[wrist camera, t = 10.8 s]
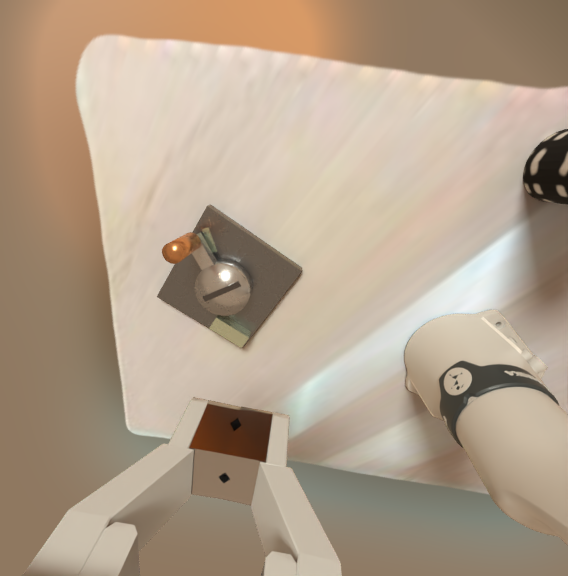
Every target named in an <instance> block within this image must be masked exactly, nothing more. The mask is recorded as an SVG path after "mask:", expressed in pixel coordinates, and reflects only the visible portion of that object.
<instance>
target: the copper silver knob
mask: <svg viewBox="0 0 568 576" xmlns="http://www.w3.org/2000/svg"><path fill="white" fill-rule="evenodd" d="M191 253H192V255H193V256H194V258H195V260H196V261H197V263H198V265H199V266H200V268H201V269H202V271H201V272H200V273H199V275H198V276H197V278H196V281H195V285H194V289H195V294H196V297H197V299H198V301H199V302H200V304H201V305H202V306H203V307H204V308H205V309H206V310H208V311H209V312H211V313H213V314H216V315H221V316H230V315H234V314H236V313H238V312H240V311H241V310H242V309H243V308H244V307H245V306H246V304H247V302H248V300H249V298H250V295H251V293H252V280H251V277H250V275H249V273H248V272H247V271H246V269H245V268H244V267H243V266H241V265H240V264H238V263H236V262H234V261H231V260H224V259H222V260H216V258H215V256H214V255H213V253H212V251H211V249H210V248H209V246H208V244H207V243H206V241H205V239H204V237H203V236H202V234H201V232H200V233H198V234H195V233H191V232H190V233H187V234H185V235H183V236H181V237H179V238H177V239H176V240H174V241H172V242H170V243H168V244H166V245H165V246H164V247H163V249H162V254H163V257H164V258H165V260H166V261H168V262H169V263H173V264H176V263H179V262H180V261H182V260H183V259H184V258H186V257H187V256H188V255H190V254H191Z"/></svg>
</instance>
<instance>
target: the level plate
mask: <svg viewBox="0 0 568 576" xmlns="http://www.w3.org/2000/svg"><path fill="white" fill-rule="evenodd" d="M200 232H201V234H202V236H203V237H204V239H205V241H206V243H207V244H208V246H209V248H210V249H211V251H212V253H213V255H214V256H215V258H216V260H222V259H224V260H231V261H234V262H236V263H238V264H240V265H241V266H243V267H244V268H245V269H246V271H247V272H248V273H249V275H250V277H251V280H252V293H251V295H250V298H249V300H248V302H247V304H246V306H245V307H244V308H243V309H242V310H241V311H240V312H238V313H236V314H234V315H230V316H221V315H216V314H213V313H211V312H209V311H208V310H206V309H205V308H204V307H203V306H202V305H201V304H200V302H199V301H198V299H197V297H196V294H195V289H194V285H195V281H196V278H197V276H198V275H199V273H200V272H201V271H202V269H201V268H200V266H199V265H198V263H197V261H196V260H195V258H194V256H193V255H192V253H191V254H190V255H188V256H187V257H186V258H184V259H183V260H182V261H180V262H179V263H176V264H175V265H174V267H173V269H172V270H171V272H170V274H169V276H168V278H167V279H166V281H165V283H164V285H163V287H162V288H161V290H160V292H159V294H158V296H157V297H158V298H160V299H161V300H163V301H165V302H166V303H168V304H170V305H171V306H173V307H175V308H176V309H178V310H180V311H181V312H183V313H184V314H186V315H188V316H189V317H191V318H193V319H194V320H196V321H198V322H199V323H201V324H203V325H204V326H206V327H208V328H209V329H211V330H212V331H214V332H216V333H217V334H219V335H221V336H222V337H224V338H225V339H227V340H229V341H230V342H232V343H234V344H235V345H237V346H239V347H240V348H243V347H244V346H245V344H246V343H247V342H248V340H249V339H250V338H251V337H252V335H253V334H254V333H255V331H256V330H257V329H258V327H259V326H260V325H261V324H262V322H263V321H264V320H265V318H266V317H267V316H268V315H269V313H270V312H271V311H272V309H273V308H274V307H275V306H276V304H277V303H278V302H279V300H280V299H281V298H282V296H283V295H284V294H285V293H286V291H287V290H288V289H289V287H290V286H291V285H292V284H293V282H294V281H295V280H296V278H297V277H298V276H299V274H300V273H301V272H302V267H300V266H299V265H297V264H296V263H294V262H293V261H291V260H290V259H289V258H287V257H286V256H284V255H283V254H281V253H280V252H278V251H277V250H276V249H274V248H273V247H271V246H270V245H268V244H267V243H265V242H264V241H263V240H261V239H260V238H258V237H257V236H255V235H254V234H252V233H251V232H250V231H248V230H247V229H245V228H244V227H242V226H241V225H239V224H238V223H236V222H235V221H234V220H232V219H231V218H229V217H228V216H226V215H225V214H223V213H222V212H221V211H219V210H218V209H216V208H215V207H213V206H212V205H208V206H207V207H206V209H205V211H204V213H203V215H202V216H201V218H200V220H199V222H198V224H197V225H196V227H195V229H194V231H193V233H195V234H198V233H200Z"/></svg>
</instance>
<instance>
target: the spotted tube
mask: <svg viewBox="0 0 568 576" xmlns="http://www.w3.org/2000/svg"><path fill="white" fill-rule="evenodd" d="M523 178H524V185H525V188H526V190H527V191H528V193H529V194H530V195H531V196H532V197H534V198H536V199H538V200H541V201H546V202H553V203H560V204H568V129H565V130H562V131H559V132H556V133H554V134H552V135H551V136H549V137H547V138H546V139H545V140H544V141H542V142H541V143H540V144H539V145H538V146H537V147H536V148H535V149H534V151H533V152H532V154H531V155H530V157H529V159H528V161H527V163H526V166H525V169H524V175H523Z"/></svg>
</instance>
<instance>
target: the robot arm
mask: <svg viewBox="0 0 568 576" xmlns="http://www.w3.org/2000/svg"><path fill="white" fill-rule="evenodd" d="M497 322H498V323H497ZM496 323H497V324H496ZM404 359H405V365H406V368H407V377H406V382H405V384H406V387H407V388H408V390H409V391H410V392H413V393H415V394H418V395H420V397H421V399H422V400H423V402H424V404H425V405H426V407H427V409H428V410H429V412H430V413H431V415H432V416H433V417H435V418H439V419H440V420H443V421H444V422H445V425H446V427H447V429H448V430H449V432H450V433H451V435H452V436H453V437H454V439H455V440H456V442H457V443H458V444H459V445H460V446H461V447H463V448H464V450H465V451H466V453H467V455H468V457H469V459H470V460H471V462H472V464H473V466H474V468H475V469H476V471H477V473H478V475H479V476H480V478H481V480H482V482H483V484H484V485H485V487H486V489H487V491H488V492H489V494H490V496H491V498H492V499H493V501H494V502H495V504H496V505H497V506H498V507H499V508H500V509H501V510H502V511H503V512H504V513H505V514H506V515H508V516H509V517H510V518H512V519H513V520H515V521H517V522H518V523H520V524H522V525H524V526H526V527H528V528H530V529H532V530H535V531H537V532H540V533H544V534H548V535H553V536H558V537H560V538H561V539H562V540H563V541H564V542H565V544H566V545H567V546H568V414H567V413H566V412H565V411H564V410H563V409H562V408H561V407H560V406H559V404H558V401H557V400H556V398H555V397H554V396H553V395H552V393H551V392H550V390H549V389H548V388H547V387H546V385H545V384H544V383H543V381H542V380H541V378H542V377H543V375H544V373H545V370H547V368H548V367H547V366H546V365H545V364H544V363H543V362H542V361H541V360H540V359H539V358H538V357H536V356H535V355H533V353H532V352H531V351H530V350H529V348H528V347H527V346H526V345H525V343H524V342H523V341H522V339H521V338H520V337H519V336H518V334H517V333H516V332H515V331H514V329H513V328H512V327H511V325H510V324H509V323H508V322H507V320H506V319H505V318H504V316H503V315H502V314H501V313H500V312H499V311H497V310H488V311H484V312H480V313H477V314H450V315H445V316H441V317H438V318H436V319H433V320H431V321H429V322H428V323H426V324H425V325H423V326H422V327H420V328H419V329H418V330H417V331H416V332H415V333H414V334H413V336H412V337H411V338H410V340H409V342H408V344H407V346H406V349H405V355H404ZM289 419H290V418H289V415H285V414H279V413H274V412H273V413H272V412H269V411H263V410H258V409H252V408H246V407H239V406H234V405H229V404H225V403H220V402H215V401H211V400H210V401H209V400H205V399H200V398H195V397H193V398H192V400H191V401H190V402H189V404H188V406H187V408H186V410H185V412H184V414H183V416H182V418H181V420H180V422H179V424H178V426H177V428H176V430H175V432H174V434H173V436H172V438H171V440H170V442H169V444H162V445H161V446H159V447H158V448H156V449H155V450H153V451H152V452H150V453H149V454H148V455H146V456H145V457H144V458H142V459H141V460H139V461H138V462H136V463H135V464H133V465H132V466H131V467H129V468H128V469H127V470H125V471H123V472H122V473H121V474H119V475H118V476H117V477H115V478H114V479H112V480H111V481H109V482H108V483H106V484H105V485H104V486H102V487H101V488H99V489H98V490H96V491H95V492H94V493H92V494H91V495H89V496H88V497H87V498H85V499H84V500H82V501H81V502H80V503H78V504H77V505H75V506H74V507H72V508H71V509H69V510H68V512H67V513H66V515H65V516H64V517H63V519H62V520H61V522H60V523H59V524H58V526H57V527H56V529H55V530H54V532H53V533H52V535H51V536H50V537H49V539H48V540H47V542H46V543H45V544H44V546H43V547H42V549H41V550H40V551H39V553H38V554H37V556H36V557H35V558H34V560H33V561H32V563H31V564H30V566H29V567H28V568H27V570H26V571H25V573H24V574H23V575H22V576H140V566H139V551H140V550H141V549H142V548H143V547H144V546H145V545H146V544H147V542H149V541H150V540H151V538H152V537H153V536H154V535H155V534H156V533H157V532H158V531H159V530H160V529H161V528H162V527H163V526H164V525H165V524H166V522H168V520H169V519H170V518H171V517H172V516H173V515H174V514H175V513H176V512H177V511H178V510H179V509H180V507H182V505H183V504H184V503H185V502H186V501H187V500H188V499H189V498H190V497H191V494H193V495H199V496H206V497H213V498H219V499H224V500H228V501H233V502H238V503H242V504H246V505H251V509H252V513H253V516H254V519H255V523H256V526H257V530H258V533H259V536H260V539H261V543H262V547H263V550H264V553H265V557H266V559H265V562H264V566H263V570H262V573H261V576H342V574H341V564H340V560H339V559H338V557H337V555H336V553H335V551H334V549H333V547H332V545H331V543H330V542H329V539H328V538H327V536H326V534H325V532H324V530H323V528H322V526H321V524H320V522H319V520H318V518H317V516H316V514H315V512H314V510H313V508H312V506H311V505H310V503H309V501H308V499H307V497H306V495H305V493H304V491H303V489H302V487H301V485H300V483H299V481H298V479H297V477H296V476H295V474H294V472H293V470H292V468H289V467H286V465H287V450H288V434H289Z"/></svg>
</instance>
